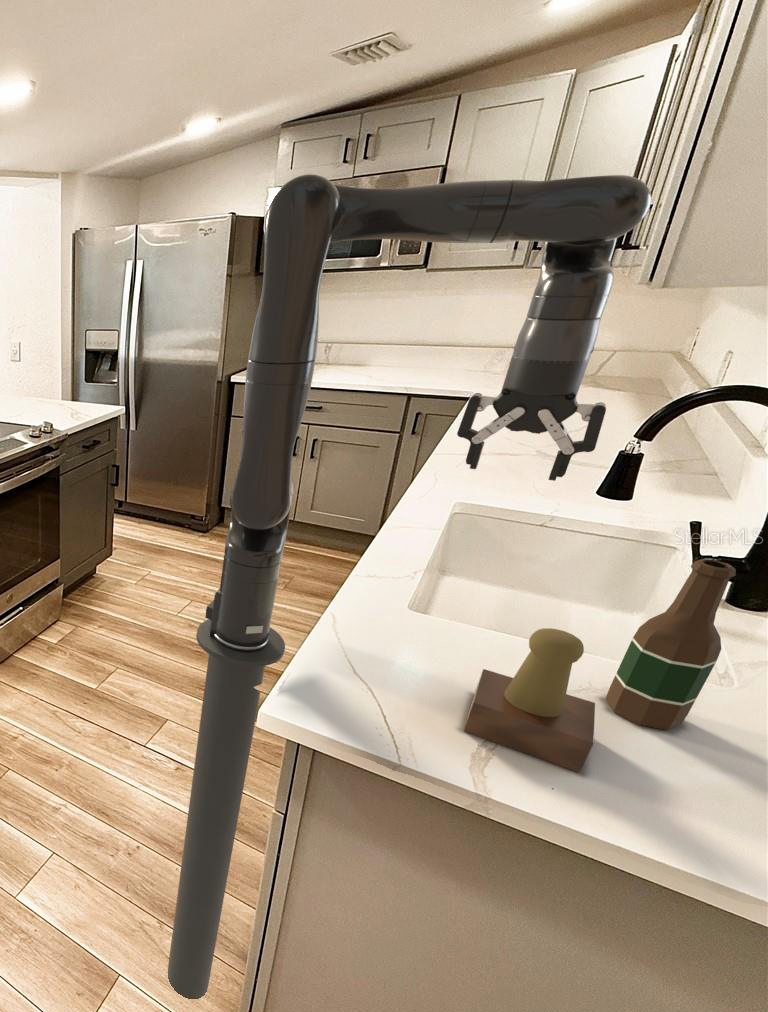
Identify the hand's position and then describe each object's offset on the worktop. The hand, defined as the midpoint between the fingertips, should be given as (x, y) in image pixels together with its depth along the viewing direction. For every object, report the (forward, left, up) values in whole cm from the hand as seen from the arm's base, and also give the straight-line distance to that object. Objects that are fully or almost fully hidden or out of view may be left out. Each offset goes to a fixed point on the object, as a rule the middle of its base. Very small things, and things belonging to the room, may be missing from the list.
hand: (511, 473), depth 86 cm
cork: (+10, -11, -28) cm, 32 cm away
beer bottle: (+22, +4, -33) cm, 40 cm away
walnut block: (+10, -11, -33) cm, 36 cm away
